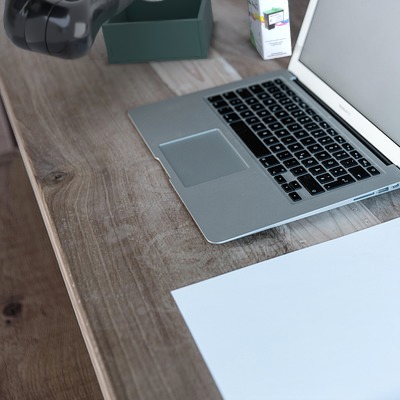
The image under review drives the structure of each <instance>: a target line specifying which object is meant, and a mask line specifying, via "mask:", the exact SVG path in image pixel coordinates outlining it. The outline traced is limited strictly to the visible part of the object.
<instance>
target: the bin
mask: <svg viewBox="0 0 400 400" xmlns="http://www.w3.org/2000/svg"><path fill="white" fill-rule="evenodd" d="M214 24H215V22H214V14H213V6H212V0H161V1H145V0H135V1H134V2H133V3H132V4H130V5H129V6H128V7H127V8H125V9H124V10H123V11H122V12H120V13H119V14H117V15H115V16H112V17H111V18H110V19H108V20H107V21H106V22H105V23H103V24H102V26H101V32H102V35H103V40H104V46H105V49H106V53H107V58H108V62H109V65H119V64H121V65H122V64H137V63H152V62H153V63H155V62H172V61H186V60H187V61H189V60H206V59H208V57H209V51H210V46H211V40H212V36H213V31H214Z"/></svg>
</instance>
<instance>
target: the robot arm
mask: <svg viewBox="0 0 400 400" xmlns="http://www.w3.org/2000/svg"><path fill="white" fill-rule="evenodd" d="M134 1H135V0H4V3H3V4H4V5H3V12H2V27H3V29H4V30H3V31H4V32H5V34H6V37H7V39H9V40H10V42H11V43H12V44H13V45H14V46H15V47H17V48H18V49H21V50H24V51H29V52H32V53H36V54H40V55H45V56H49V57H54V58H56V59H61V60H66V61H75V60H78V59H83V58H84V57H85V56H86V55H88V54H89V53H90V52H91V50H92V48H93V45H94V43H95V40H96V38H97V36H98V34H99V31H100V29H102V27H101V26H102V24H103V23H105V22H106V21H107V20H108V19H110V18H111V17H112V16H115V15H117V14H119V13H120V12H122V11H123V10H124V9H125V8H127V7H128V6H129V5H130V4H132V3H133V2H134Z"/></svg>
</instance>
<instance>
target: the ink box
mask: <svg viewBox="0 0 400 400" xmlns="http://www.w3.org/2000/svg"><path fill="white" fill-rule="evenodd" d="M246 3H247V14H248V25H249V36H250V42H251V44H252V45H253V47H254V48H255V49H256V51H257V52H258V54H259V55H260V57H261V58H262V59H263V60H272V59H278V58H284V57H289V56H292V54H293V52H292V40H291V38H292V37H291V28H290V27H291V26H290V12H289V0H246Z"/></svg>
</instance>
